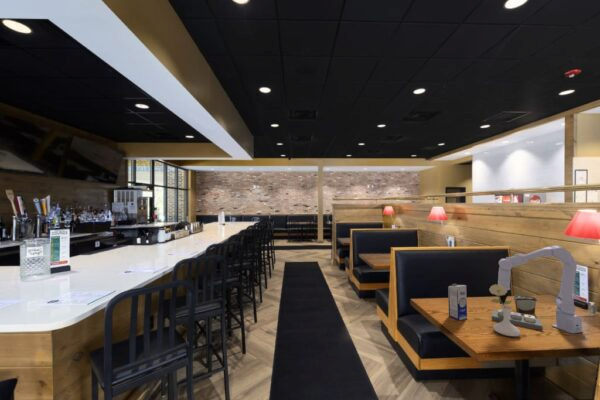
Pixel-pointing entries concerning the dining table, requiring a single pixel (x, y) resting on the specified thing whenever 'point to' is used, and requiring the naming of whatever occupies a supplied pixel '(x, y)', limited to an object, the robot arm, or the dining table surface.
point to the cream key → (529, 318)
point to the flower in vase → (505, 325)
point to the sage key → (500, 313)
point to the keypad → (519, 321)
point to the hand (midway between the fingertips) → (502, 302)
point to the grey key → (516, 315)
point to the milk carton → (457, 302)
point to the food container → (525, 304)
